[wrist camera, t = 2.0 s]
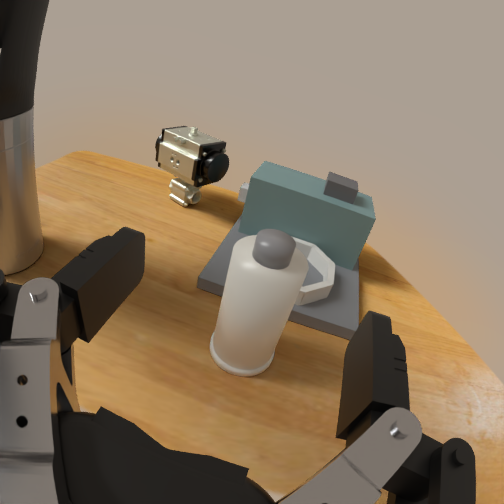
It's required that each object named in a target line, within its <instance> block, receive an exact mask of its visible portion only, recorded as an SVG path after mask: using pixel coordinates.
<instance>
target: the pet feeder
mask: <svg viewBox="0 0 504 504" xmlns="http://www.w3.org/2000/svg"><path fill="white" fill-rule="evenodd" d="M238 201H241V202H244V203H245V204H244V209H243V213H242V214H241V216H240V217H239V219H238V220H237V222H236V223H235V224H234V226H233V227H232V229H231V230H230V232H229V233H228V234H227V236H226V237H225V239H224V240H223V242H222V243H221V245H220V246H219V247H218V249H217V250H216V252H215V253H214V255H213V256H212V258H211V259H210V261H209V262H208V263H207V265H206V266H205V268H204V269H203V271H202V272H201V274H200V275H199V277H198V282H197V288H200V289H202V290H205V291H208V292H211V293H213V294H216V295H219V296H221V297H222V296H223V291H224V287H225V282H226V278H227V273H228V269H229V264H230V260H231V255H232V251H233V247H234V245H235V243H236V242H237V241H238V240H240V239H241V238H244V237H247V236H251V235H257V233H258V232H259V231H261V230H263V229H276V230H280V231H283V232H285V233H287V234H288V235H290V236H291V237H292V238H293V239H294V240H295V242H296V248H297V249H299V250H300V251H301V252H302V253H303V255H304V256H305V257H306V259H307V262H308V266H309V267H308V272H307V274H306V277H305V279H304V282H303V284H302V287H301V289H300V292H299V294H298V296H297V299H296V301H295V303H294V306H293V308H292V311H291V313H290V315H289V318H288V320H290V321H293V322H296V323H299V324H302V325H305V326H308V327H311V328H314V329H317V330H320V331H323V332H326V333H329V334H333V335H336V336H339V337H342V338H345V339H348V340H351V338H352V337H353V335H354V333H355V332H356V330H357V328H358V327H359V261H358V257H359V255H360V253H361V251H362V248H363V246H364V244H365V242H366V240H367V237H368V235H369V233H370V231H371V229H372V227H373V224H374V222H375V220H376V218H375V213H374V208H373V202H372V197H370V196H368V195H365V194H362V193H360V192H358V183H357V182H356V181H354V180H351V179H349V178H345V177H343V176H340V175H337V174H335V173H332V172H329V174H328V177H327V180H323V179H320V178H317V177H314V176H311V175H308V174H305V173H302V172H299V171H296V170H293V169H290V168H287V167H284V166H280V165H277V164H274V163H271V162H267V161H264V163H263V164H262V165H261V166H260V167H259V168H258V169H257V171H256V172H255V173H254V174H253V175H252V176H251V179H250V183H249V184H248V183H244V184H243V185H242V186H241V187H240V192H239V196H238Z"/></svg>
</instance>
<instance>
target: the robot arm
mask: <svg viewBox="0 0 504 504" xmlns="http://www.w3.org/2000/svg"><path fill="white" fill-rule="evenodd" d="M48 4H49V0H0V48H2V49H1V53H0V504H374V503H375V502H376V501H377V500H378V499H379V497H380V496H381V491H380V490H381V488H383V489H385V490H387V491H389V492H388V499H387V504H475V501H476V471H475V455H474V452H473V450H472V448H471V446H470V445H469V444H468V443H467V442H466V441H464V440H463V439H460V438H452V439H450V440H448V441H447V442H445V443H444V444H442V443H440V442H438V441H436V440H434V439H432V438H430V437H428V436H426V435H425V434H423V433H422V428H421V425H420V422H419V420H418V419H417V417H416V416H415V415H414V414H413V413H412V412H410V405H409V388H408V374H407V363H406V353H405V347H404V345H403V343H402V341H401V339H400V337H399V335H395V334H392V326H391V319H390V317H388V316H385V315H382V314H379V313H376V312H373V311H368V312H367V314H366V315H365V317H364V318H363V320H362V322H361V323H360V325H359V327H358V328H357V330H356V332H355V333H354V335H353V337H352V338H351V340H350V342H349V344H348V346H347V349H346V352H345V358H344V369H343V380H342V390H341V399H340V408H339V416H338V424H337V432H336V438H339V439H344V440H346V448H345V449H344V450H343V451H341V452H340V453H339V454H338V455H337V456H336V457H334V458H333V459H332V460H331V461H330V462H329V463H327V464H326V465H325V466H324V467H322V468H321V469H320V470H319V471H318V472H316V473H315V474H314V475H313V476H311V477H310V478H309V479H307V480H306V481H305V482H303V483H302V484H301V485H299V486H298V487H297V488H295V489H294V490H292V491H291V492H290V493H288V494H287V495H285V496H284V497H283V498H281V499H280V500H278V501H277V502H274V500H273V499H272V498H271V496H270V495H269V494H268V493H267V492H266V491H265V490H264V489H263V488H262V487H261V486H259V485H258V484H257V483H255V482H254V481H253V480H251V479H249V478H248V477H246V476H247V473H248V470H249V468H246V467H242V466H239V465H236V464H233V463H230V462H227V461H224V460H221V459H218V458H215V457H212V456H208V455H200V454H193V453H187V452H180V451H175V450H170V449H167V448H165V447H163V446H162V445H161V444H159V443H158V442H157V441H155V440H154V439H153V438H151V437H150V436H149V435H148V434H146V433H145V432H144V431H143V430H141V429H140V428H139V427H138V426H136V425H135V424H134V423H132V422H130V421H128V420H126V419H124V418H122V417H120V416H118V415H116V414H114V413H112V412H111V411H109V410H107V409H105V408H103V407H100V409H99V410H98V412H97V413H96V414H94V413H88V412H81V411H80V406H79V402H78V399H77V394H76V383H75V366H74V345H73V342H74V341H75V340H76V339H77V338H80V339H82V340H83V341H85V342H87V343H89V342H90V341H91V339H92V338H93V337H94V336H95V335H96V333H97V332H98V331H99V330H100V328H101V327H102V326H103V325H104V324H105V322H106V321H107V320H108V319H109V318H110V317H111V315H112V314H113V313H114V312H115V311H116V309H117V308H118V307H119V306H120V305H121V304H122V302H123V301H124V300H125V299H126V298H127V297H128V295H129V294H130V293H131V292H132V291H133V290H134V289H135V287H136V286H137V285H138V284H139V282H140V281H141V279H142V276H143V273H144V265H145V235H144V233H142V232H139V231H136V230H133V229H130V228H128V227H123V228H121V229H120V230H119V231H118V232H116V233H115V234H114V235H113V236H109V235H108V236H106V237H103V238H101V239H98V240H96V241H94V242H93V243H92V244H91V245H89V246H88V247H87V248H86V250H83V251H82V252H81V253H80V254H79V256H76V257H75V258H74V259H73V260H72V261H70V262H69V263H68V264H67V265H66V266H65V267H63V268H62V269H61V270H60V271H59V272H58V273H57V274H55V275H54V276H53V277H52V278H51V279H49V278H44V277H40V278H35V279H32V280H30V281H28V282H26V283H25V284H24V285H23V286H22V285H18V284H13V283H8V282H6V279H5V276H4V275H7V274H13V273H16V272H19V271H22V270H24V269H26V268H27V267H29V266H30V265H32V264H33V263H34V262H35V261H36V260H37V259H38V258H39V257H40V255H41V254H42V251H43V248H44V242H43V236H42V230H41V223H40V214H39V206H38V197H37V187H36V176H35V161H34V135H33V134H34V133H33V108H34V107H33V105H34V88H35V79H36V72H37V62H38V53H39V46H40V40H41V35H42V30H43V26H44V21H45V16H46V12H47V8H48Z"/></svg>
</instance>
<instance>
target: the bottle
mask: <svg viewBox="0 0 504 504" xmlns="http://www.w3.org/2000/svg"><path fill="white" fill-rule="evenodd" d="M308 267H309V266H308V262H307V259H306V257H305V256H304V255H303V253H302V252H301V251H300V250H299V249H297V248H296V242H295V240H294V239H293V238H292V237H291V236H290V235H288V234H287V233H285V232H283V231H280V230H276V229H263V230H261V231H259V232H258V233H257V235H251V236H247V237H244V238H241V239H240V240H238V241H237V242H236V243H235V245H234V247H233V251H232V255H231V260H230V264H229V269H228V273H227V278H226V282H225V287H224V291H223V296H222V300H221V305H220V309H219V314H218V319H217V323H216V328H215V331H214V332H213V334H212V337H211V341H210V354H211V357H212V359H213V360H214V362H215V363H216V364H217V365H218V366H219V367H220V368H221V369H223V370H224V371H226V372H228V373H230V374H232V375H236V376H241V377H250V376H255V375H258V374H260V373H262V372H264V371H265V370H266V369H267V368H268V367H269V365H270V364H271V362H272V359H273V357H274V353H275V347H276V345H277V343H278V341H279V338H280V336H281V334H282V331H283V329H284V327H285V325H286V322H287V320H288V318H289V315H290V313H291V311H292V308H293V306H294V303H295V301H296V299H297V296H298V294H299V292H300V289H301V287H302V284H303V282H304V279H305V277H306V274H307V272H308Z"/></svg>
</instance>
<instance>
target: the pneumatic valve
mask: <svg viewBox="0 0 504 504" xmlns="http://www.w3.org/2000/svg"><path fill="white" fill-rule="evenodd" d="M225 147H226V142H224V141H221V140H219V139H217V138H214V137H211V136H209V135H207V134H204V133H202V132H199V131H198V128H196V127H192V128H189V127H187V126H181V127H173V128H166V129H162V134H161V135H160V136H159V137H158V139H157V141H156V146H155V148H156V161H158V167H160V168H162V169H164V170H166V171H167V172H169V173H171V174H173V175H174V176H175V177H178V178H176V179H172V180H171V183H170V185H169V188H170V190H171V193H170V195H169V196H170V199H172V200H174V201H175V202H177V203H178V204H180V205H182V206H183V207H186V206H188V204H196V203H198V202H199V200H200V199H201V196H202V194H201V191H200V190H199V189H200V188H201V187H202V186H204V185H207V184H211V183H214V182H218V181H219V180H221V178H223V177H224V175H225V174H226V172H227V170H228V167H229V158H228V156H227V155H226V154H224V153H225V152H226V150H225Z"/></svg>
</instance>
